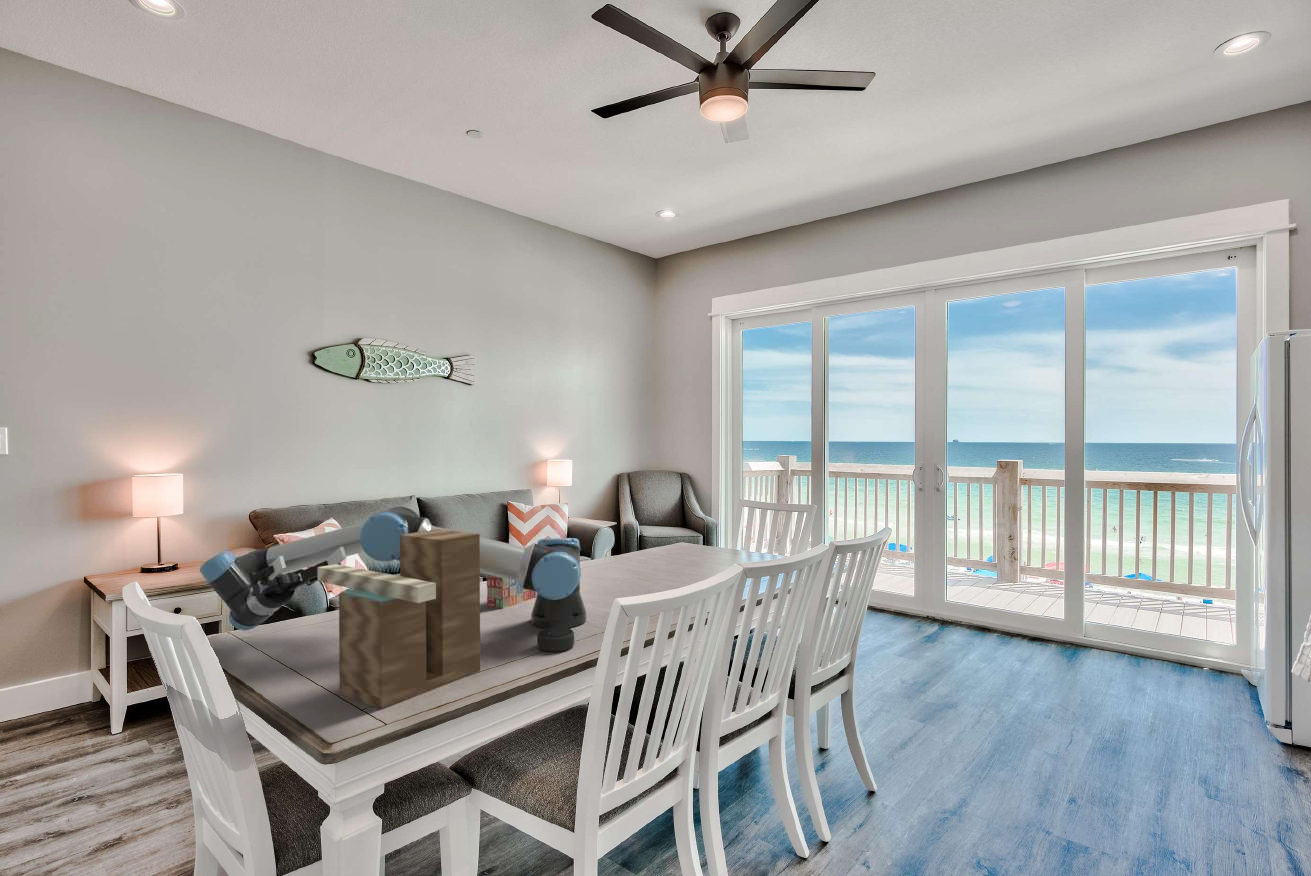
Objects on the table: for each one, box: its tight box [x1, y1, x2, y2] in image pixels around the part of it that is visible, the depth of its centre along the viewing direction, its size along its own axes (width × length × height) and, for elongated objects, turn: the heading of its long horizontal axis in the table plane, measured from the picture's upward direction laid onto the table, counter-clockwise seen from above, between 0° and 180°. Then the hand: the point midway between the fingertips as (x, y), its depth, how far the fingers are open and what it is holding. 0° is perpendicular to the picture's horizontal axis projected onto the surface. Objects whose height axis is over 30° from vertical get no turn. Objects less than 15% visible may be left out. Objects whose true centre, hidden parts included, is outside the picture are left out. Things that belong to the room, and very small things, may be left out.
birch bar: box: [317, 564, 436, 603], centre depth 133 cm, size 34×4×3 cm, turn 57°
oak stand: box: [338, 529, 481, 710], centre depth 137 cm, size 14×24×30 cm, turn 147°
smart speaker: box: [537, 627, 575, 653], centre depth 160 cm, size 9×9×4 cm
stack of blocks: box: [486, 574, 538, 610], centre depth 206 cm, size 21×6×12 cm, turn 152°
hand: (314, 556), depth 145 cm, fingers open, 13 cm apart
